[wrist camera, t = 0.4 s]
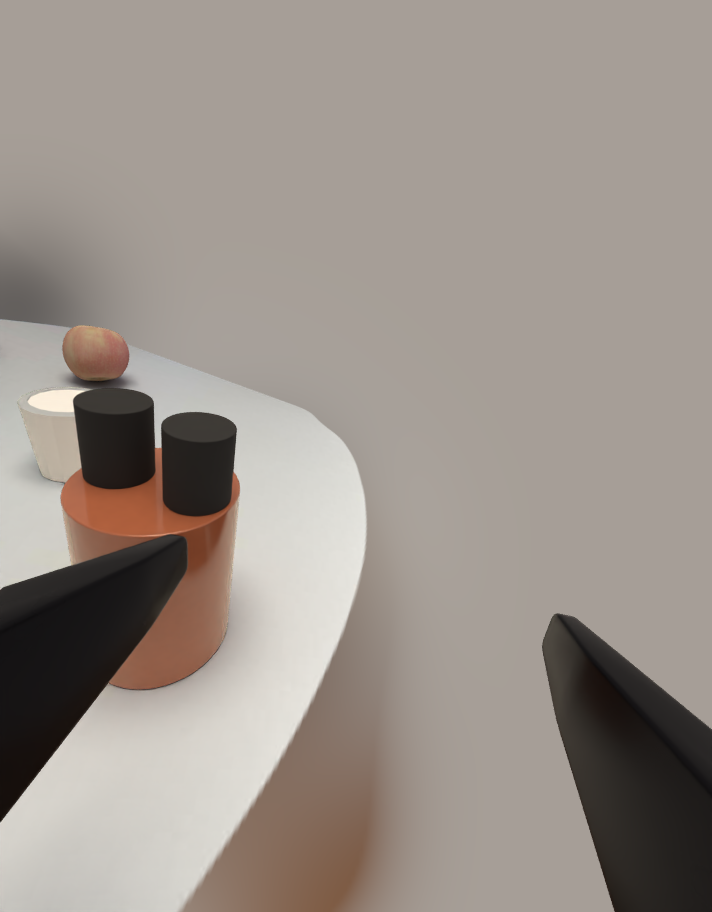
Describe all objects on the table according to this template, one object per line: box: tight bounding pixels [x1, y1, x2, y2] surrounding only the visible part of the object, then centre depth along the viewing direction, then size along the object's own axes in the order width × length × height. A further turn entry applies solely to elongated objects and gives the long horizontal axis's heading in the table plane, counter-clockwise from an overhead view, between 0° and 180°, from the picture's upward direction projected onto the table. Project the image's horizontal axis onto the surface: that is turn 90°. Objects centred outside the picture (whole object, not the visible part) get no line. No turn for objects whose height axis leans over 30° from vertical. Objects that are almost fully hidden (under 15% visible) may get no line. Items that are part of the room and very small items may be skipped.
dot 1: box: [73, 388, 156, 489], centre depth 18 cm, size 3×3×4 cm
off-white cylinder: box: [17, 387, 91, 482], centre depth 35 cm, size 7×7×7 cm
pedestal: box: [60, 448, 240, 689], centre depth 22 cm, size 8×8×11 cm
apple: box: [62, 326, 129, 381], centre depth 53 cm, size 8×8×8 cm
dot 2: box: [161, 412, 237, 516], centre depth 18 cm, size 3×3×4 cm
